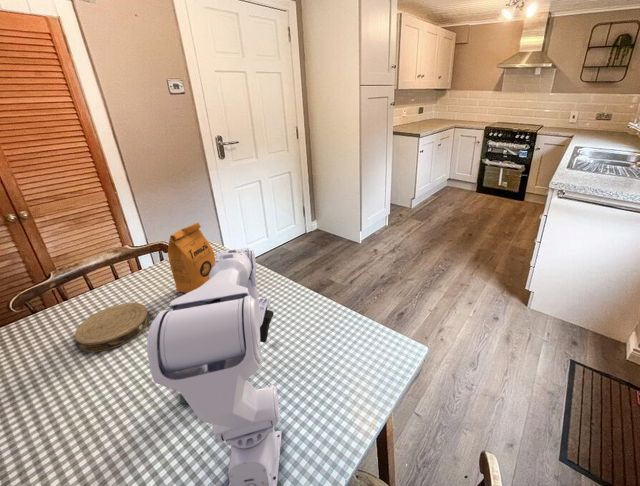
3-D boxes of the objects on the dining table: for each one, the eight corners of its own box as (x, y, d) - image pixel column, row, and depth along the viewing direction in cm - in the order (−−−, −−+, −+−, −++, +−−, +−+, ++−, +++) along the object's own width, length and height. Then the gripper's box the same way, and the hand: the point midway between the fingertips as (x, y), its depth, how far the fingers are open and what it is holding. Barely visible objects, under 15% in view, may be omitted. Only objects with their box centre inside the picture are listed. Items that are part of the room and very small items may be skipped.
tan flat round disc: (133, 304, 96) (131, 296, 95) (160, 322, 88) (158, 314, 87) (68, 336, 83) (64, 328, 82) (93, 361, 75) (89, 352, 74)
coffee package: (224, 278, 109) (213, 222, 101) (194, 298, 98) (179, 238, 90) (203, 272, 113) (191, 218, 104) (172, 291, 102) (156, 233, 94)
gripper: (246, 279, 67) (254, 326, 72) (200, 327, 54) (213, 380, 59) (275, 284, 66) (281, 331, 71) (235, 333, 53) (246, 387, 58)
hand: (252, 354), depth 65 cm, fingers open, 7 cm apart
